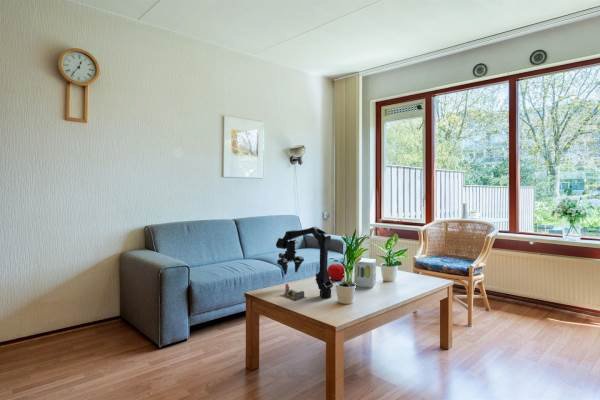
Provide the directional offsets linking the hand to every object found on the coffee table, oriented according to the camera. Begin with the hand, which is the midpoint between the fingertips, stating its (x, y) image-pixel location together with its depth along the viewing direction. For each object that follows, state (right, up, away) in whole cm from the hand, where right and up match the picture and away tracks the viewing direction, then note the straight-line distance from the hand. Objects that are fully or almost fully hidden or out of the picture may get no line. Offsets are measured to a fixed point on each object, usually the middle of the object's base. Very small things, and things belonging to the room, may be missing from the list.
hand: (290, 273), depth 237 cm
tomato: (+33, -11, +30) cm, 45 cm away
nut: (+3, -11, -16) cm, 19 cm away
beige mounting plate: (+2, -12, -14) cm, 19 cm away
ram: (-1, -11, -12) cm, 16 cm away
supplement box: (+52, -12, +18) cm, 56 cm away
